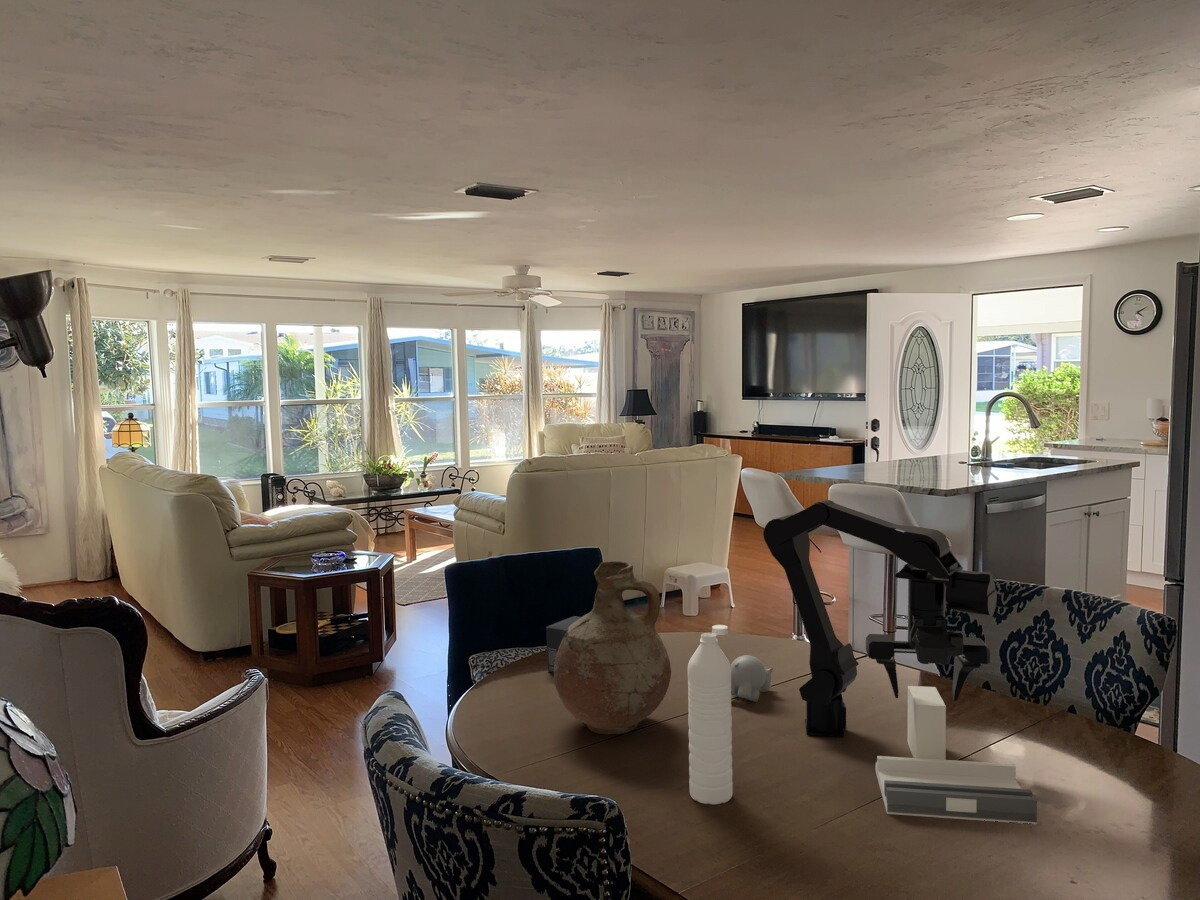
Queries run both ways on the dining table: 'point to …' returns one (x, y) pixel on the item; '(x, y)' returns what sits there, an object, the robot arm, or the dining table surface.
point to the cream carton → (926, 723)
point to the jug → (613, 657)
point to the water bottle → (710, 721)
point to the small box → (556, 639)
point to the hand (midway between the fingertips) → (925, 698)
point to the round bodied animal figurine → (749, 677)
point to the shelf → (954, 790)
